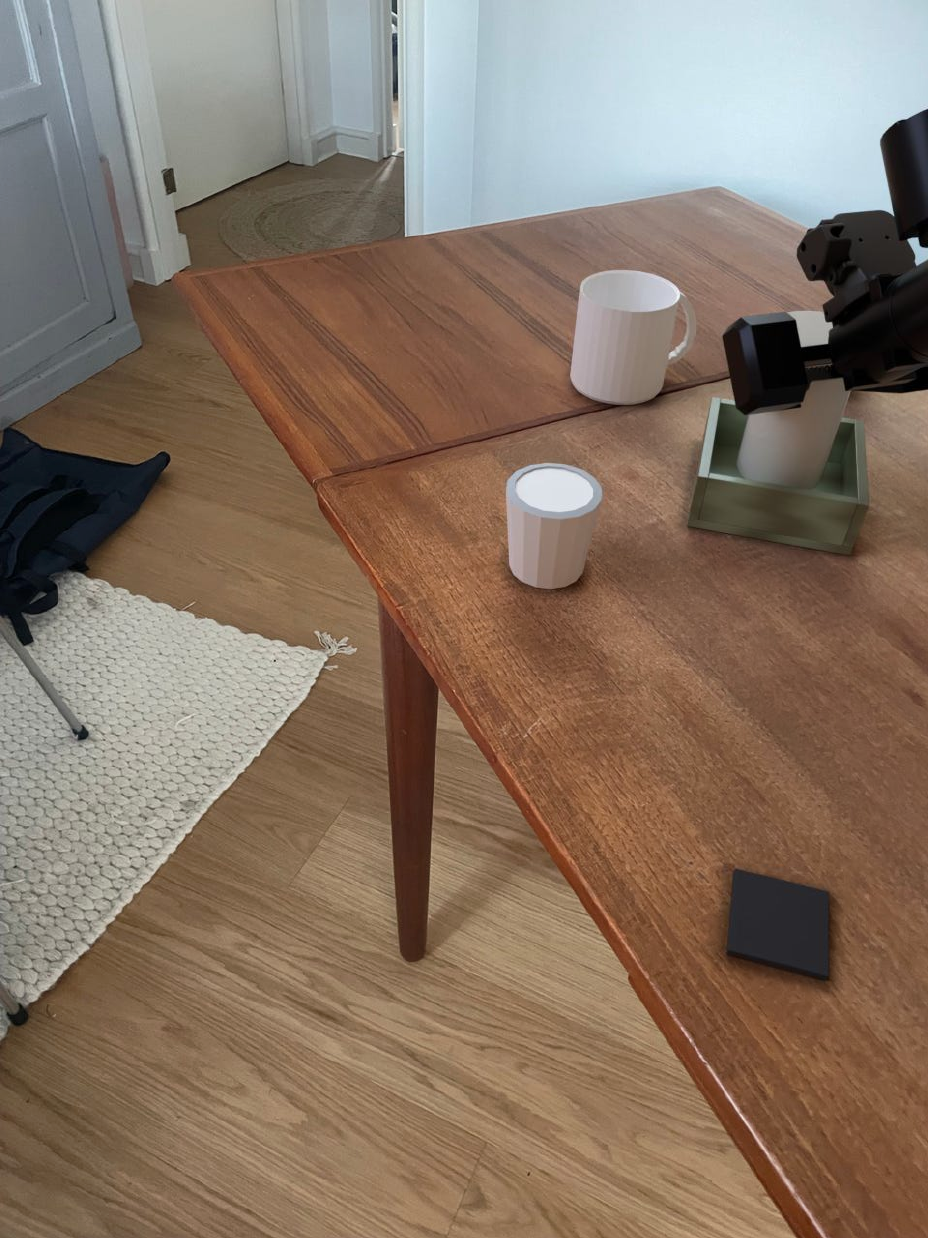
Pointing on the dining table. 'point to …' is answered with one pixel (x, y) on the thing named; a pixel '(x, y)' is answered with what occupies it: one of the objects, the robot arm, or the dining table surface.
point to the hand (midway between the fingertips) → (790, 387)
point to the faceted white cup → (550, 523)
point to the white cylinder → (796, 425)
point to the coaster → (779, 924)
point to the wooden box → (779, 490)
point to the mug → (627, 335)
